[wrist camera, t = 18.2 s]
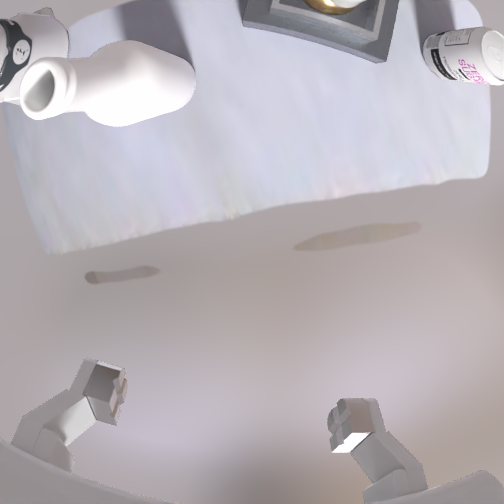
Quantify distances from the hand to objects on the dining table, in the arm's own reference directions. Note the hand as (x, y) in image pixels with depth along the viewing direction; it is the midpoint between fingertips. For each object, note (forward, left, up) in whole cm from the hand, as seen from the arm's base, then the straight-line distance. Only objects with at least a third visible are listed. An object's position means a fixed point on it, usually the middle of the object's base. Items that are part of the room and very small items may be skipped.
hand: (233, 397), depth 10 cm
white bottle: (-14, +9, -39) cm, 43 cm away
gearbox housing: (+5, +28, -39) cm, 48 cm away
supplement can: (+26, +26, -39) cm, 54 cm away
